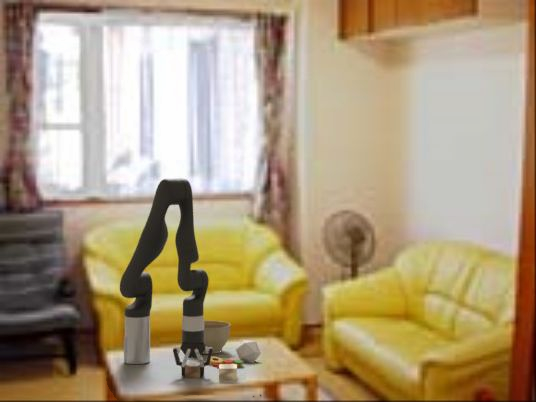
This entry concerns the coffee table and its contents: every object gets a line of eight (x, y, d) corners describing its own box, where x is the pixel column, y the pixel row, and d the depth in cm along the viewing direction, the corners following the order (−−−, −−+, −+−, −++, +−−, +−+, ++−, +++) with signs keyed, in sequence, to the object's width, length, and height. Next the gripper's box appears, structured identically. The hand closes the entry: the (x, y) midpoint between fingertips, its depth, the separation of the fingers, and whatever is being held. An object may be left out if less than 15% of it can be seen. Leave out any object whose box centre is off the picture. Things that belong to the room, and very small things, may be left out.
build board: (209, 385, 283) (209, 382, 283) (210, 376, 295) (210, 373, 295) (245, 385, 283) (245, 382, 283) (245, 376, 295) (245, 373, 295)
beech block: (218, 380, 286) (218, 368, 286) (219, 375, 292) (219, 364, 292) (236, 380, 286) (236, 368, 286) (236, 375, 292) (236, 364, 292)
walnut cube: (185, 381, 288) (185, 366, 288) (186, 377, 293) (186, 363, 293) (199, 381, 288) (199, 366, 288) (200, 377, 293) (200, 363, 293)
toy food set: (203, 365, 312) (203, 356, 312) (237, 362, 317) (237, 353, 316) (214, 373, 299) (214, 364, 299) (249, 370, 304) (249, 361, 304)
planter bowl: (238, 351, 332) (238, 324, 331) (208, 358, 320) (208, 330, 320) (210, 345, 343) (210, 318, 343) (180, 351, 331) (180, 324, 331)
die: (264, 362, 318) (255, 339, 322) (262, 355, 310) (252, 332, 315) (243, 370, 317) (234, 347, 322) (241, 364, 310) (232, 340, 314)
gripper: (171, 330, 286) (170, 380, 287) (213, 330, 286) (213, 380, 287) (172, 325, 293) (172, 374, 294) (214, 325, 294) (214, 374, 295)
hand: (192, 377), depth 291 cm, fingers closed on walnut cube, 5 cm apart
